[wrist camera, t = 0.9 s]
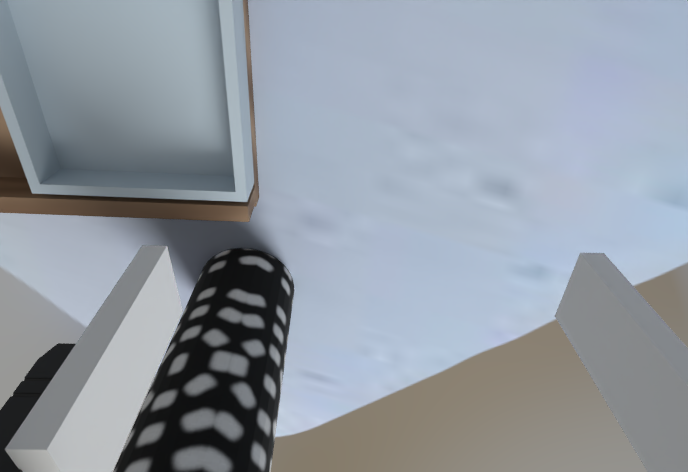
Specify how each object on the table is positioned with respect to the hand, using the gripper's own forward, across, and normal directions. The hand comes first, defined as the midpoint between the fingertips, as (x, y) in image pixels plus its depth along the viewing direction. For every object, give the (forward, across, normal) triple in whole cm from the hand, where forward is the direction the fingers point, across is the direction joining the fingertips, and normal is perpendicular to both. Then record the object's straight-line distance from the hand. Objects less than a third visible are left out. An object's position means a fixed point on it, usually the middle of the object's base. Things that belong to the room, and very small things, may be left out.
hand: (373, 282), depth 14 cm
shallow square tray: (+18, -14, +2) cm, 23 cm away
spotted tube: (+19, -9, -16) cm, 26 cm away
